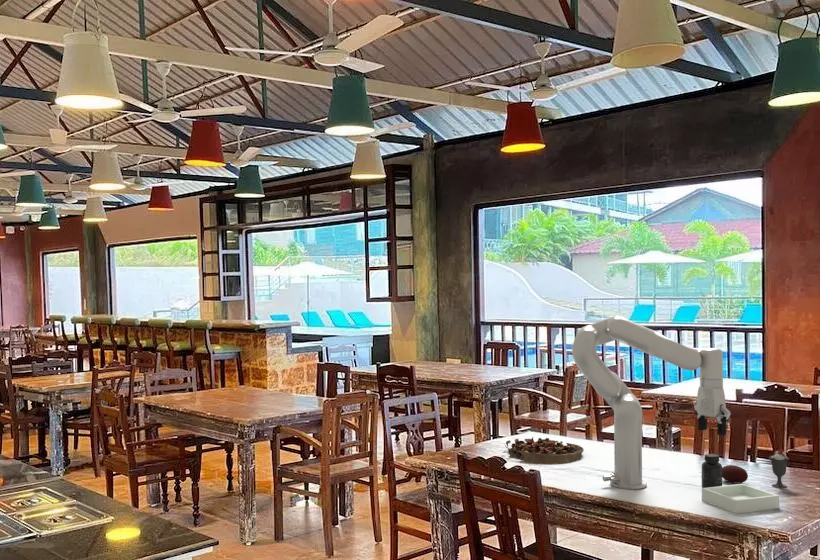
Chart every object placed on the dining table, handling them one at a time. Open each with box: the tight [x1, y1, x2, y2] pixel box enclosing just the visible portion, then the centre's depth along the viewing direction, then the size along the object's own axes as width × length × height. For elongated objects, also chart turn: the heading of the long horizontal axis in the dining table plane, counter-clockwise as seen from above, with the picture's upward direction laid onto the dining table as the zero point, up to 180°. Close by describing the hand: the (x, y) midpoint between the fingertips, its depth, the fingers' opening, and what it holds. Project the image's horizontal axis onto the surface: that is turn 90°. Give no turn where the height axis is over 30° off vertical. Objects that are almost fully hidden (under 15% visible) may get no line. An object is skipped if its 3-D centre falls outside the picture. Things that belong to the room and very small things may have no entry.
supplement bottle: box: [701, 453, 723, 489], centre depth 276 cm, size 7×7×12 cm
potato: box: [722, 464, 749, 484], centre depth 286 cm, size 7×10×6 cm
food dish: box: [504, 436, 585, 465], centre depth 333 cm, size 35×33×8 cm
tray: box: [701, 483, 780, 514], centre depth 258 cm, size 17×16×4 cm
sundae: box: [768, 445, 790, 489], centre depth 280 cm, size 7×7×15 cm
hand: (712, 432), depth 276 cm, fingers open, 9 cm apart
